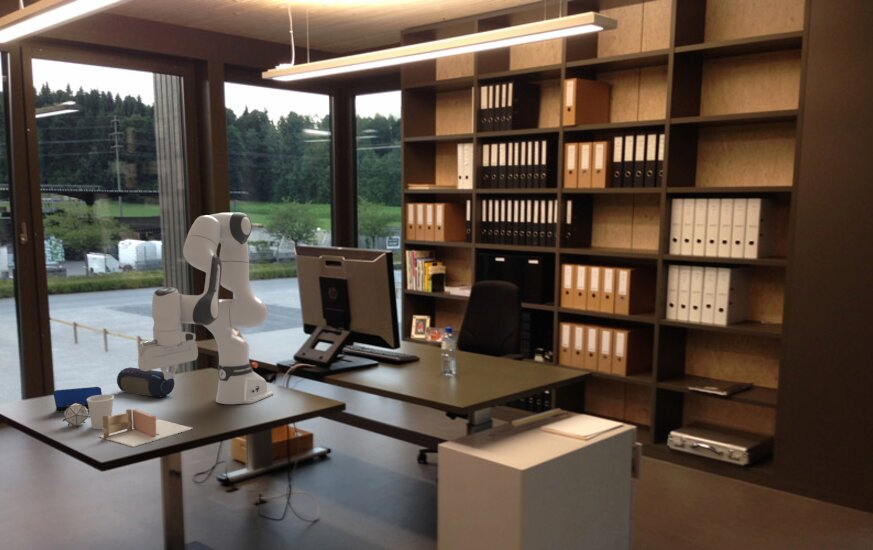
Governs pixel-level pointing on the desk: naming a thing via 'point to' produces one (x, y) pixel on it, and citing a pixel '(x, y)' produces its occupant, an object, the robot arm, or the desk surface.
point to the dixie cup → (99, 409)
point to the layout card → (141, 438)
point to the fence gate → (144, 422)
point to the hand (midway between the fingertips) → (169, 378)
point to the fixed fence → (117, 423)
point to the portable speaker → (144, 382)
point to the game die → (76, 414)
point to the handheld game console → (74, 397)
